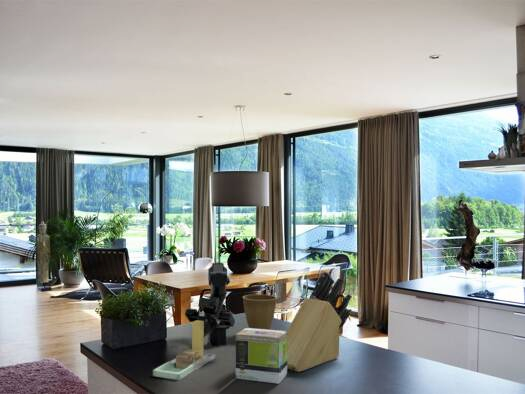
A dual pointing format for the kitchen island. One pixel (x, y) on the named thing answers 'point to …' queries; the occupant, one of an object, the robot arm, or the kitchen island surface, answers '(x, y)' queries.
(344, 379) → the kitchen island surface
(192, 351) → the maple block
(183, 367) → the walnut block
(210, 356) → the slot rail
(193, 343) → the tall yellow pillar
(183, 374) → the tray
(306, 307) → the knife block
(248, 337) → the tea box
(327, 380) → the kitchen island surface
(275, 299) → the plant pot
